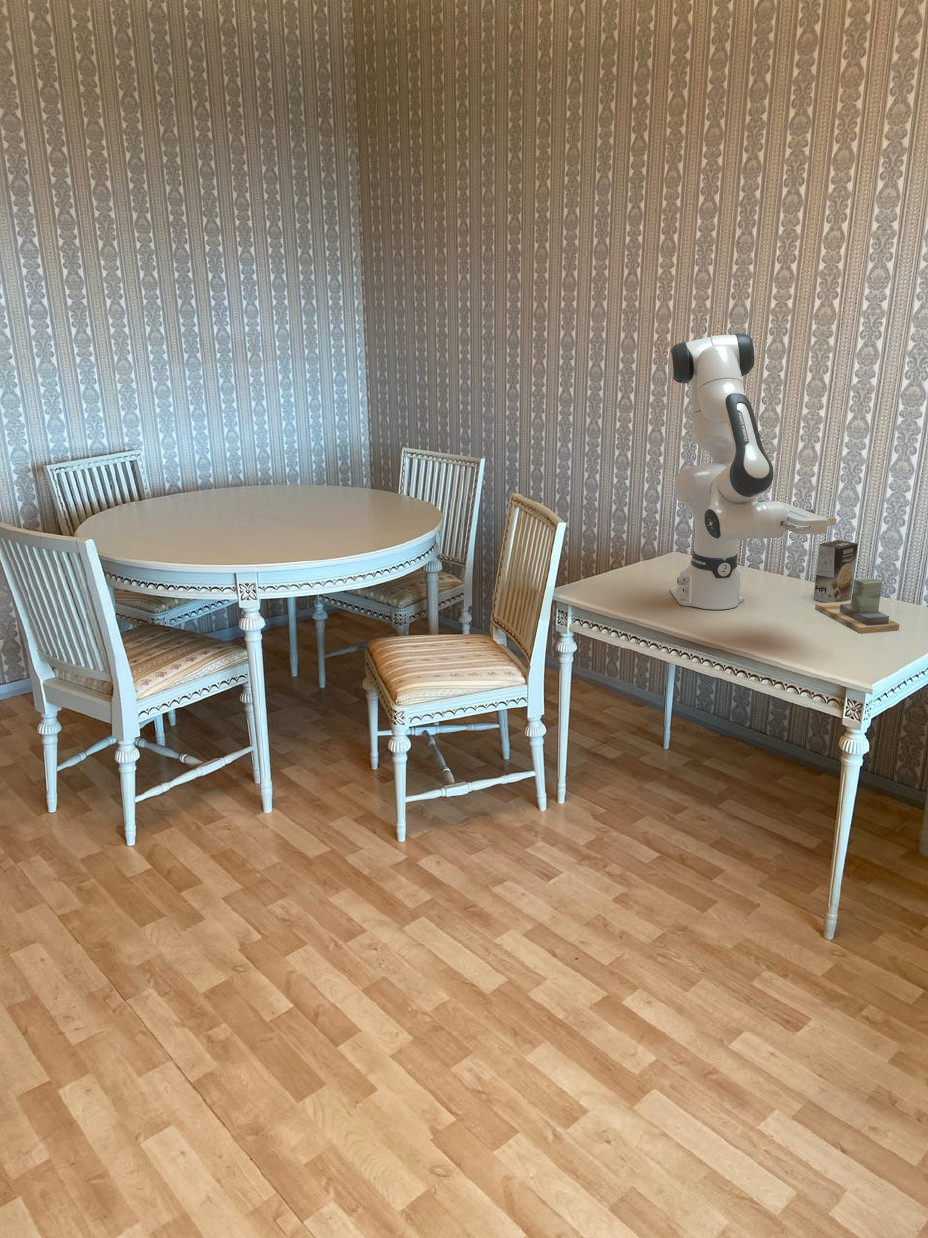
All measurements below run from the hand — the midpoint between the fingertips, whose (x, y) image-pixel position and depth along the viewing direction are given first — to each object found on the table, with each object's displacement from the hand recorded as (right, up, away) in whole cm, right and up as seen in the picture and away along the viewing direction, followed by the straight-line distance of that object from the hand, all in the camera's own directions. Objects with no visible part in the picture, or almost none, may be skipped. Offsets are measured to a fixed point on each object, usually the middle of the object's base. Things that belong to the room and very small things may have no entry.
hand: (823, 516), depth 238 cm
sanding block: (+16, -25, +16) cm, 33 cm away
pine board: (+16, -25, +20) cm, 35 cm away
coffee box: (+16, -20, +37) cm, 45 cm away
